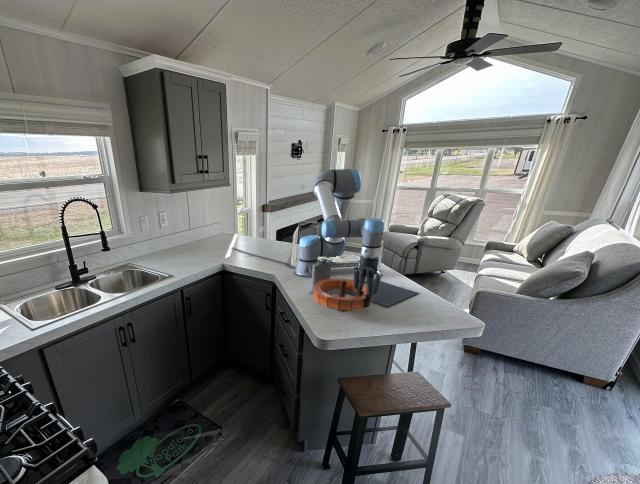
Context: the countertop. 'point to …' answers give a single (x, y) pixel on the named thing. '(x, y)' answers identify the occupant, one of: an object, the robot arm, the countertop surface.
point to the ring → (335, 301)
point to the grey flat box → (321, 271)
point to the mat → (388, 294)
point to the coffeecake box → (380, 256)
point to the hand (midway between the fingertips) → (362, 305)
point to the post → (342, 289)
